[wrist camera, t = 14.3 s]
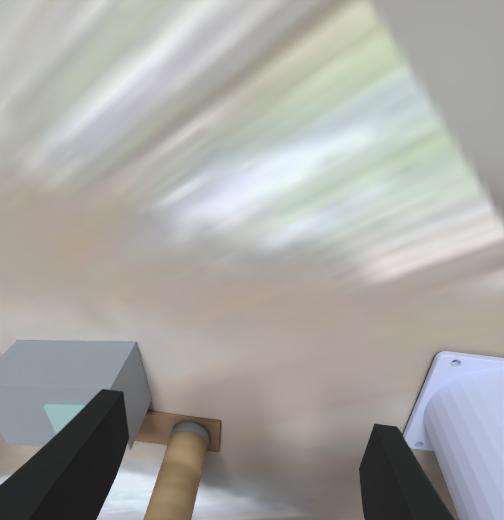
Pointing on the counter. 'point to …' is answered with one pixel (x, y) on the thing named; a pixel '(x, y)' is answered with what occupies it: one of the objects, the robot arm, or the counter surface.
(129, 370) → the finder block
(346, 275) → the counter surface
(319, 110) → the counter surface
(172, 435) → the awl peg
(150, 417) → the strip
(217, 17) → the counter surface
